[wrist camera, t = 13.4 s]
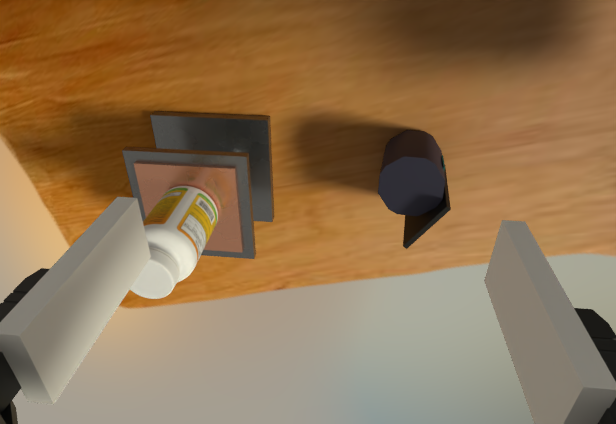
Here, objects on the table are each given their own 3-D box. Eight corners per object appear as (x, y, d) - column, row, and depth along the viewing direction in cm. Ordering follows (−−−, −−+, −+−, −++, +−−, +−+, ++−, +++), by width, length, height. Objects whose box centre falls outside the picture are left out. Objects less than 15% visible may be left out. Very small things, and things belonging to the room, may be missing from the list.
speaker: (458, 176, 45) (470, 227, 36) (408, 199, 48) (407, 252, 39) (425, 114, 43) (428, 152, 34) (373, 141, 45) (364, 184, 36)
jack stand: (269, 116, 44) (250, 153, 36) (274, 216, 50) (258, 265, 43) (154, 111, 45) (113, 146, 38) (173, 209, 52) (140, 257, 44)
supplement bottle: (157, 221, 41) (106, 292, 33) (167, 175, 38) (115, 239, 30) (211, 241, 42) (175, 315, 34) (225, 197, 39) (189, 266, 31)
